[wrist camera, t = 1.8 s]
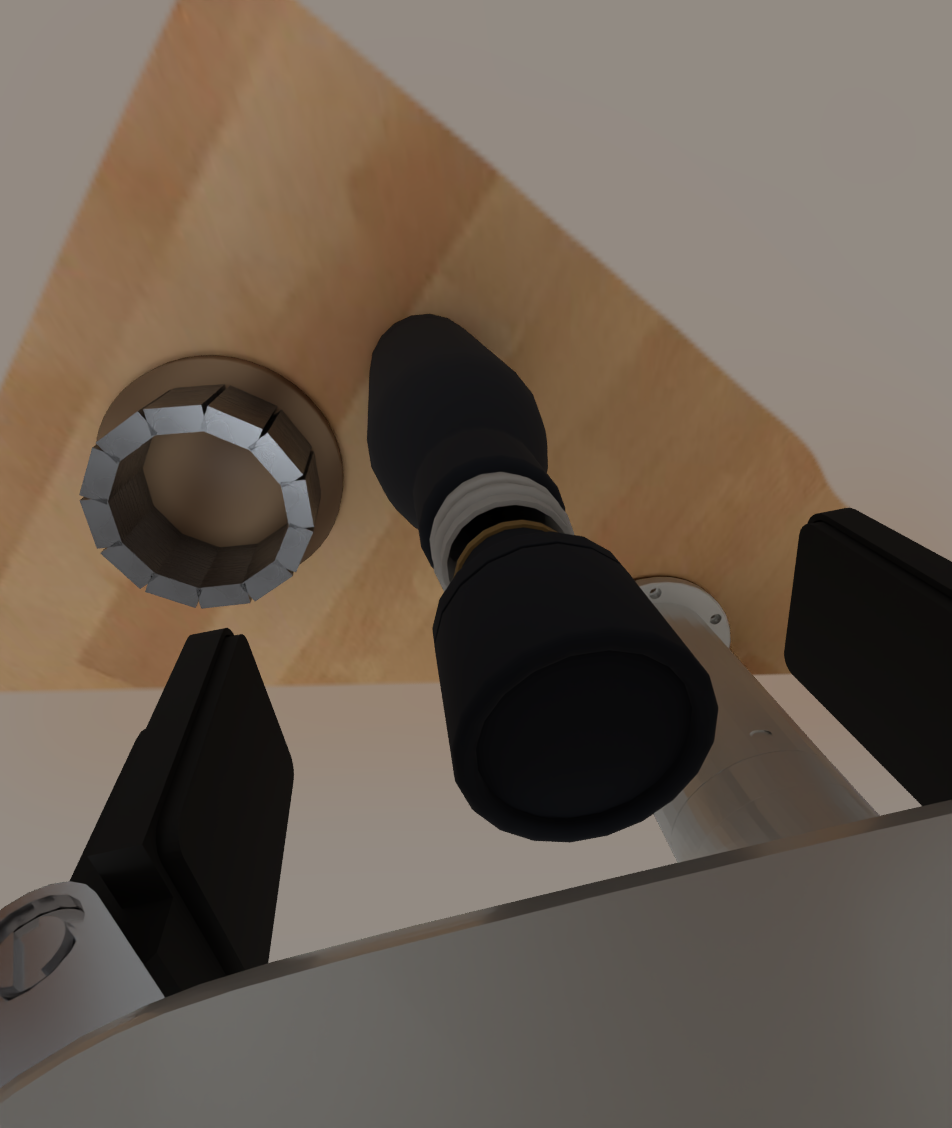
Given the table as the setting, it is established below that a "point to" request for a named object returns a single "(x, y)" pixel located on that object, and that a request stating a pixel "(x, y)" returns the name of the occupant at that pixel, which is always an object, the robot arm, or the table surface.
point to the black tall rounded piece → (528, 605)
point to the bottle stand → (211, 481)
